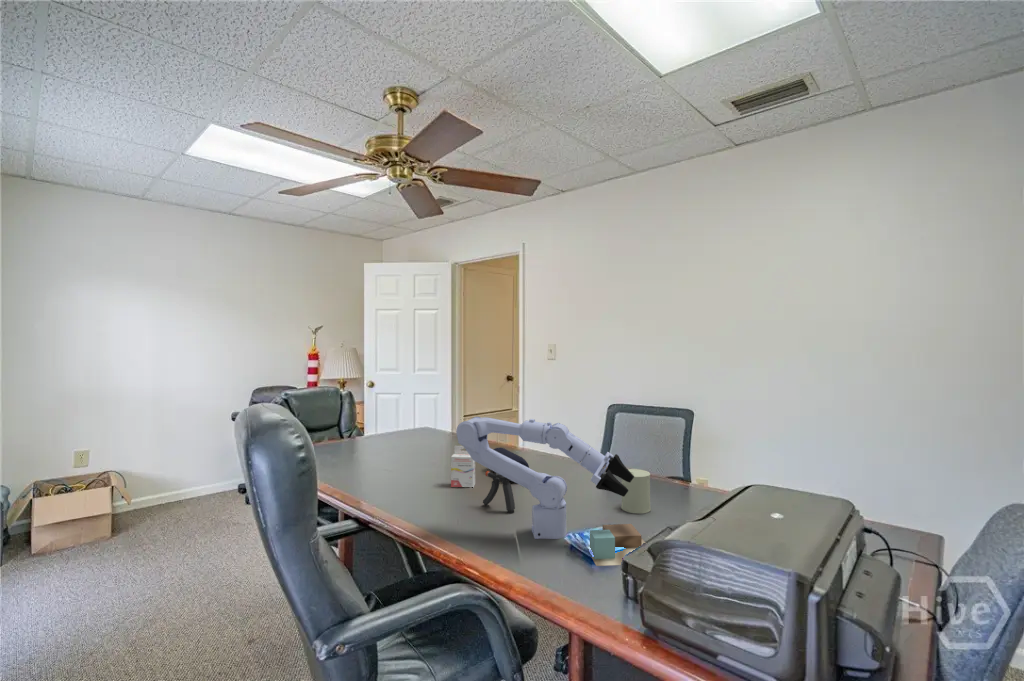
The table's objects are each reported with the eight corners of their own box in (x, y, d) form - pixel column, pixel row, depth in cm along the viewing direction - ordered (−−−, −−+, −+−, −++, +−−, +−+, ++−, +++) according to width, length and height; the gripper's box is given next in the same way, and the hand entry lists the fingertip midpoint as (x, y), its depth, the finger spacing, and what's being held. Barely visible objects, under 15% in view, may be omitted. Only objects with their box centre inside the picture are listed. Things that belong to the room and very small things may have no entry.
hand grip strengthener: (486, 504, 159) (486, 459, 160) (515, 512, 151) (515, 464, 152) (481, 505, 158) (481, 460, 158) (511, 514, 150) (510, 466, 150)
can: (615, 508, 154) (615, 471, 154) (631, 502, 160) (630, 466, 160) (641, 515, 147) (640, 476, 147) (656, 508, 154) (655, 471, 154)
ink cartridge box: (450, 488, 178) (450, 448, 178) (453, 484, 182) (453, 445, 183) (473, 488, 177) (473, 448, 177) (475, 484, 182) (475, 445, 182)
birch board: (596, 570, 112) (596, 565, 112) (579, 539, 130) (579, 535, 130) (662, 567, 113) (662, 563, 113) (637, 536, 131) (637, 533, 131)
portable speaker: (484, 470, 202) (484, 446, 202) (506, 467, 206) (506, 444, 206) (508, 486, 179) (508, 459, 179) (532, 483, 183) (532, 457, 183)
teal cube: (594, 559, 116) (594, 538, 116) (589, 550, 121) (589, 530, 121) (615, 558, 116) (614, 537, 116) (609, 549, 121) (609, 529, 121)
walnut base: (610, 548, 122) (610, 536, 122) (602, 536, 130) (602, 524, 130) (641, 547, 122) (641, 535, 122) (631, 534, 130) (631, 523, 130)
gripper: (585, 456, 121) (631, 489, 118) (599, 434, 134) (642, 463, 131) (571, 475, 124) (617, 508, 120) (587, 452, 137) (628, 481, 133)
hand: (629, 486), depth 126 cm, fingers open, 7 cm apart
